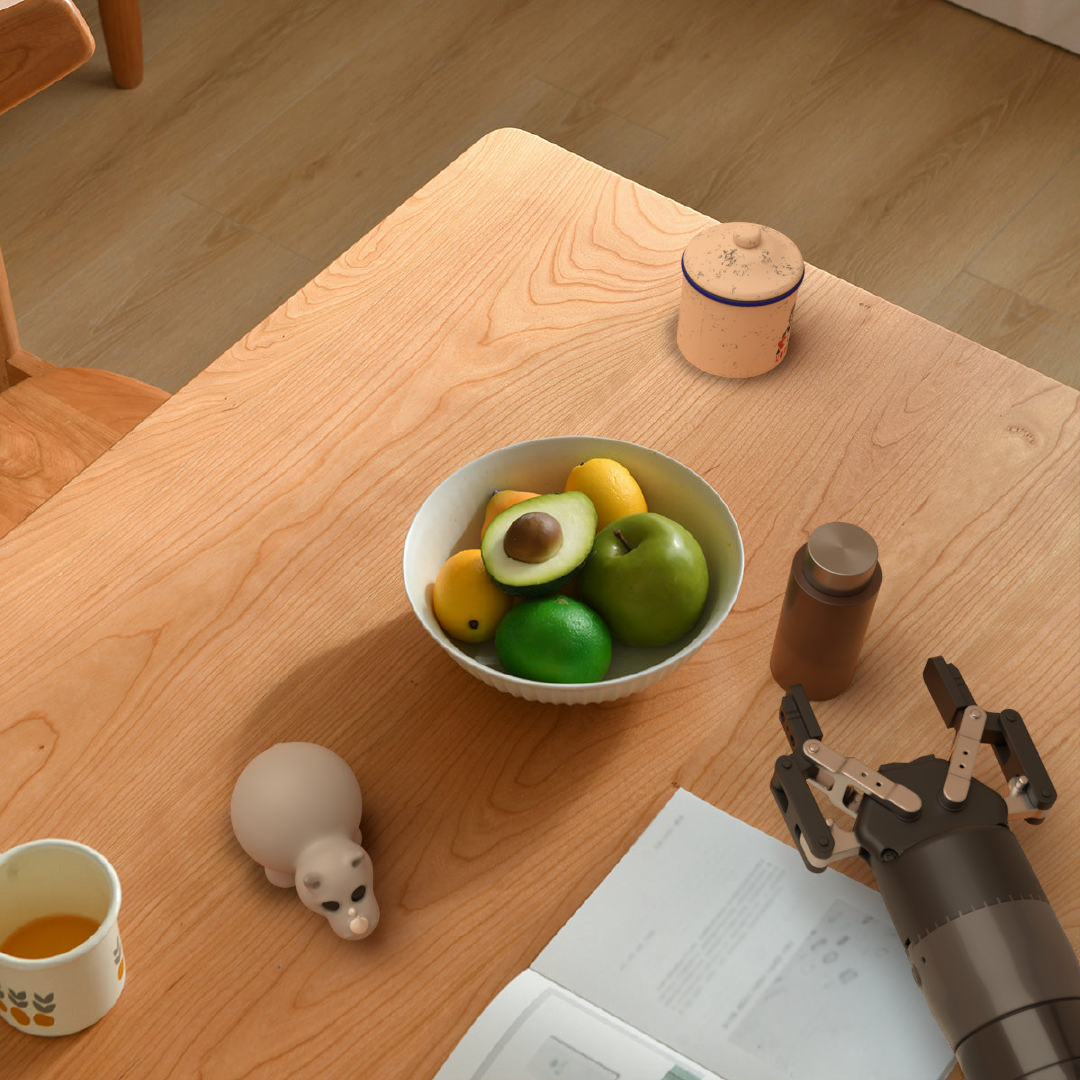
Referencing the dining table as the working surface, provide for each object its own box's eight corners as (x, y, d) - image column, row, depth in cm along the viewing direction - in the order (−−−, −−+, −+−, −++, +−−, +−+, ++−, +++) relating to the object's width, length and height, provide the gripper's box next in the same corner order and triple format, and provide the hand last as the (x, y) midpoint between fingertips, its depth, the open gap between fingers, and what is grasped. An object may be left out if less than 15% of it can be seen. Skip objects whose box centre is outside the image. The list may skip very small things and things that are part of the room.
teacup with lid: (800, 386, 104) (825, 264, 95) (684, 395, 103) (698, 274, 94) (766, 285, 112) (785, 165, 103) (657, 294, 111) (667, 173, 102)
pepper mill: (831, 637, 89) (868, 506, 79) (861, 702, 86) (904, 574, 76) (756, 652, 88) (784, 521, 78) (783, 718, 85) (816, 591, 75)
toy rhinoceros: (306, 1000, 73) (283, 935, 67) (227, 825, 80) (200, 750, 73) (426, 939, 76) (415, 869, 69) (339, 773, 82) (322, 696, 76)
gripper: (1138, 877, 66) (992, 616, 76) (863, 941, 64) (751, 664, 74) (1090, 940, 72) (960, 690, 82) (836, 1001, 70) (735, 736, 80)
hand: (861, 678), depth 78 cm, fingers open, 8 cm apart
